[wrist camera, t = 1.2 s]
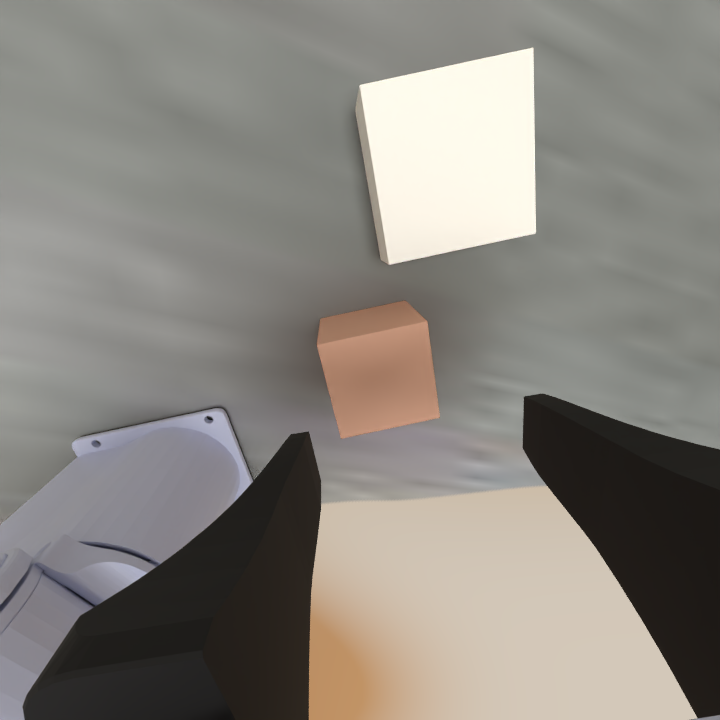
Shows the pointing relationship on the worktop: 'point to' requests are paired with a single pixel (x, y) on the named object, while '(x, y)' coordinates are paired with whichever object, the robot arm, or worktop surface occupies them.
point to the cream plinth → (450, 156)
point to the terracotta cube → (378, 368)
